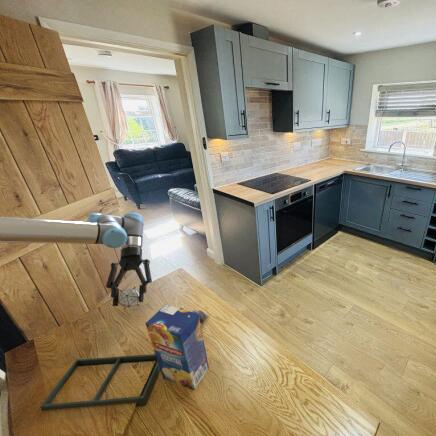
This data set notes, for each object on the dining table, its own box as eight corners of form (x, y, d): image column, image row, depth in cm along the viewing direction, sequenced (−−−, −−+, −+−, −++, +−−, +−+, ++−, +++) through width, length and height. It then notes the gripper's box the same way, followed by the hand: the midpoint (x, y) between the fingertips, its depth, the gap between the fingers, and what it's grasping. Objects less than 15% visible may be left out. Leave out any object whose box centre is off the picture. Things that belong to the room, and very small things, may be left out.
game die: (135, 314, 98) (129, 310, 90) (115, 307, 97) (107, 302, 89) (148, 293, 104) (144, 287, 95) (129, 287, 103) (122, 280, 94)
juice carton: (209, 367, 79) (198, 314, 69) (194, 390, 72) (180, 334, 62) (179, 357, 82) (165, 304, 72) (162, 378, 75) (144, 323, 66)
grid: (45, 414, 66) (39, 407, 64) (80, 366, 78) (76, 359, 77) (145, 405, 68) (143, 398, 67) (164, 360, 81) (162, 353, 79)
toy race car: (178, 310, 101) (175, 298, 98) (207, 321, 96) (205, 308, 94) (159, 327, 93) (156, 315, 90) (190, 340, 88) (187, 327, 85)
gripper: (161, 247, 107) (160, 299, 100) (107, 253, 102) (102, 308, 95) (156, 243, 101) (154, 298, 93) (98, 249, 95) (91, 308, 88)
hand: (128, 303), depth 94 cm, fingers closed on game die, 8 cm apart
